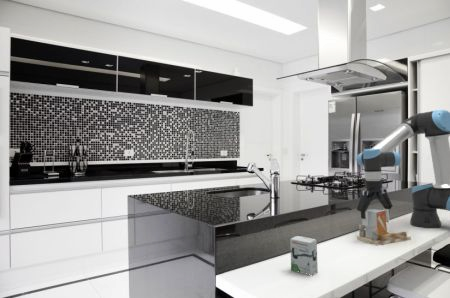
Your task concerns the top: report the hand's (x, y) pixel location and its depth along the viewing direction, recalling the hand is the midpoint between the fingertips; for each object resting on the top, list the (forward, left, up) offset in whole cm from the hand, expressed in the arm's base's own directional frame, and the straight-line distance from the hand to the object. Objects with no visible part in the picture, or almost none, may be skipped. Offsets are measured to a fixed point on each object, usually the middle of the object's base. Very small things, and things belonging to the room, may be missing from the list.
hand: (376, 223), depth 150 cm
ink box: (+55, +19, -8) cm, 59 cm away
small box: (0, 0, -7) cm, 7 cm away
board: (-4, 0, -8) cm, 9 cm away
